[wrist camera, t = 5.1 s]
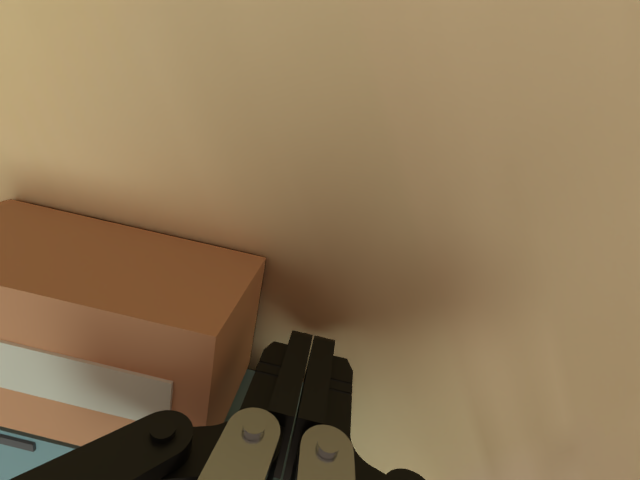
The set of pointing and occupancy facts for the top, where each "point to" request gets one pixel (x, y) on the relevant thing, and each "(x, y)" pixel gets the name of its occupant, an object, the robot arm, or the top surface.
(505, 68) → the top surface
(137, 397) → the orange labelled box
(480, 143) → the top surface
